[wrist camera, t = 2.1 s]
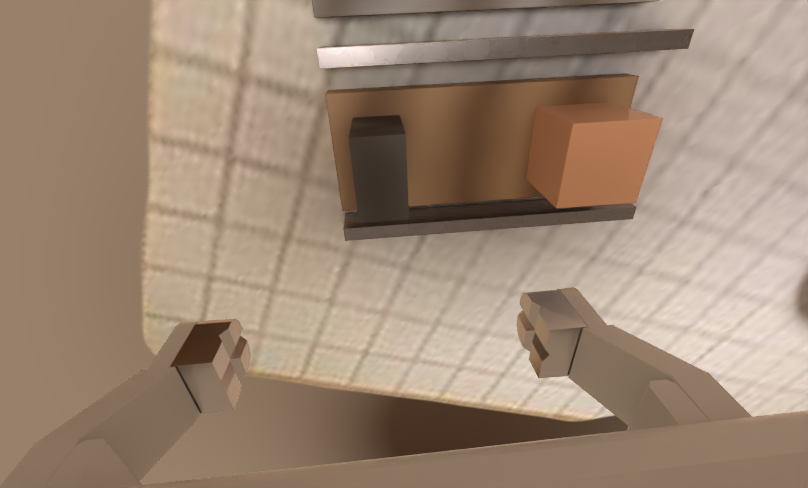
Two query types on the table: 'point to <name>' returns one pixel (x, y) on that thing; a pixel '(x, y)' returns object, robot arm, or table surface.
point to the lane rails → (494, 48)
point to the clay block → (590, 153)
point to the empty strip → (438, 6)
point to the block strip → (447, 139)
